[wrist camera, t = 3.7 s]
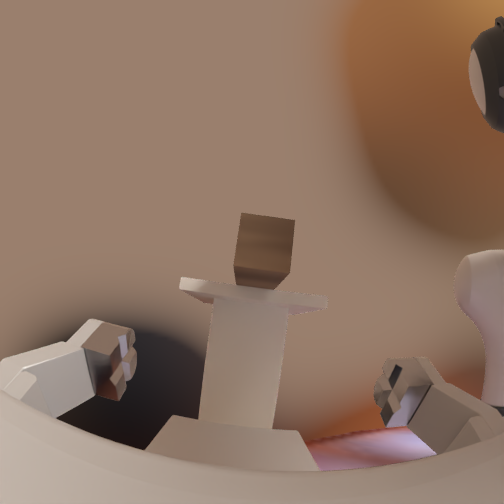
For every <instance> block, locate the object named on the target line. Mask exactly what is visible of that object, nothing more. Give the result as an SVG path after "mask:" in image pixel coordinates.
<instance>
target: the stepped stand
mask: <svg viewBox="0 0 504 504" xmlns="http://www.w3.org/2000/svg"><path fill="white" fill-rule="evenodd" d="M179 289H180V290H182V291H184V292H185V293H187V294H189V295H191V296H193V297H194V298H196V299H198V300H200V301H202V302H203V303H210V304H213V309H212V317H211V323H210V331H209V338H208V346H207V353H206V361H205V369H204V376H203V385H202V393H201V401H200V410H199V419H198V420H196V419H191V418H186V417H180V416H176V415H172V417H171V418H170V419H169V420H168V422H167V423H166V424H165V425H164V427H163V428H162V429H161V430H160V432H159V433H158V434H157V435H156V437H155V438H154V439H153V440H152V442H151V443H150V444H149V445H148V447H147V448H146V449H145V451H148V452H152V453H155V454H160V455H164V456H168V457H173V458H177V459H182V460H187V461H192V462H198V463H204V464H210V465H217V466H225V467H233V468H242V469H253V470H268V471H320V469H319V468H318V466H317V464H316V462H315V461H314V459H313V457H312V455H311V454H310V452H309V450H308V448H307V446H306V445H305V443H304V441H303V439H302V437H301V436H300V434H299V432H298V431H297V430H278V429H272V426H273V420H274V414H275V407H276V401H277V395H278V388H279V381H280V374H281V368H282V360H283V353H284V346H285V338H286V330H287V322H288V314H292V315H294V314H300V313H305V312H311V311H316V310H322V309H327V302H328V297H327V296H320V295H311V294H303V293H294V292H286V291H278V290H271V289H263V288H255V287H248V286H240V285H233V284H226V283H219V282H212V281H204V280H198V279H192V278H185V277H181V281H180V287H179Z"/></svg>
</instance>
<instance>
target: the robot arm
mask: <svg viewBox="0 0 504 504" xmlns="http://www.w3.org/2000/svg"><path fill="white" fill-rule="evenodd" d="M469 77H470V83H471V87H472V91H473V94H474V96H475V99H476V101H477V103H478V105H479V107H480V109H481V112H482V115H483V117H484V119H485V120H486V121H487V122H488V123H489V125H490V126H491V127H492V128H493V129H495V130H497V131H500V132H502V133H504V18H503V17H502V16H501V17H498V18H496V19H495V26H494V27H493V28H490V29H488V30H486V31H484V32H482V33H481V34H480V35H479V36H478V37H477V39H476V40H475V41H474V42H473V44H472V45H471V55H470V60H469ZM454 294H455V298H456V301H457V304H458V305H459V307H460V308H461V310H462V311H463V312H464V313H465V314H466V315H467V316H468V317H469V318H470V319H471V320H472V321H473V322H474V324H475V325H476V326H477V328H478V330H479V331H480V334H481V336H482V339H483V342H484V345H485V351H486V370H485V380H484V387H483V393H482V398H481V399H480V400H479V399H477V398H475V397H473V396H472V395H470V394H468V393H466V392H464V391H463V390H461V389H459V388H456V387H455V386H453V385H452V384H450V383H447V384H446V382H445V381H444V380H443V378H442V377H441V375H440V374H439V373H438V372H437V370H436V369H435V367H434V366H433V365H432V363H431V362H430V360H429V359H428V358H426V357H413V358H388V359H387V360H386V361H385V363H384V365H383V367H382V369H383V372H384V374H382V375H381V376H380V377H379V378H378V379H377V381H376V384H375V387H374V400H375V402H376V404H377V405H378V406H379V407H381V408H382V410H381V413H380V415H381V417H382V419H383V422H384V424H385V427H397V426H407V427H408V428H409V429H410V430H411V431H412V432H413V433H414V434H415V435H417V436H418V437H419V438H420V439H421V440H422V441H423V442H424V443H426V444H427V445H428V446H429V447H430V448H431V449H432V450H433V451H435V452H436V453H437V454H438V455H434V456H430V457H425V458H421V459H416V460H411V461H406V462H401V463H395V464H389V465H383V466H375V467H367V468H358V469H347V470H332V471H268V470H253V469H242V468H233V467H225V466H217V465H210V464H204V463H198V462H192V461H187V460H182V459H177V458H173V457H168V456H164V455H160V454H155V453H152V452H148V451H144V450H140V449H137V448H133V447H130V446H127V445H123V444H120V443H117V442H114V441H111V440H108V439H105V438H102V437H100V436H97V435H94V434H91V433H89V432H86V431H84V430H81V429H79V428H76V427H74V426H71V425H69V424H67V423H64V422H62V421H60V420H58V419H56V417H58V416H60V415H62V414H64V413H65V412H67V411H69V410H70V409H72V408H74V407H75V406H78V405H79V404H81V403H83V402H85V401H86V400H88V399H89V398H91V397H93V396H94V395H95V394H96V395H99V396H102V397H106V398H109V399H113V400H116V401H119V400H120V398H121V396H122V394H123V392H124V391H125V389H126V383H125V381H127V380H130V379H131V378H132V376H133V374H134V372H135V368H136V363H137V355H136V351H135V350H134V348H133V347H132V345H133V343H134V342H135V335H134V331H133V330H132V329H130V328H126V327H122V326H118V325H114V324H111V323H107V322H103V321H99V320H95V319H89V320H88V321H87V322H86V323H85V324H84V325H83V326H82V327H81V328H80V329H79V330H78V331H77V332H76V333H75V334H74V335H73V336H72V337H71V338H70V339H69V340H68V341H67V342H66V343H65V342H59V343H56V344H52V345H49V346H45V347H42V348H39V349H36V350H32V351H29V352H25V353H22V354H18V355H15V356H11V357H8V358H4V359H3V360H2V361H1V362H0V504H504V250H487V251H483V252H479V253H475V254H471V255H467V256H465V257H464V259H463V260H462V261H461V263H460V264H459V266H458V268H457V270H456V274H455V278H454Z"/></svg>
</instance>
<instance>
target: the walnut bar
mask: <svg viewBox="0 0 504 504" xmlns="http://www.w3.org/2000/svg"><path fill="white" fill-rule="evenodd" d="M294 225H295V220H289V219H283V218H276V217H269V216H261V215H253V214H246V213H241V219H240V226H239V232H238V239H237V245H236V253H235V259H234V273H235V280H236V285H240V286H248V287H255V288H263V289H271V290H274V289H275V288H276V287H277V286H278V285H279V284H280V283H281V282H282V281H283V280H284V279H285V277H286V276H287V275H288V274H289V273H290V266H291V256H292V246H293V235H294Z"/></svg>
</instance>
